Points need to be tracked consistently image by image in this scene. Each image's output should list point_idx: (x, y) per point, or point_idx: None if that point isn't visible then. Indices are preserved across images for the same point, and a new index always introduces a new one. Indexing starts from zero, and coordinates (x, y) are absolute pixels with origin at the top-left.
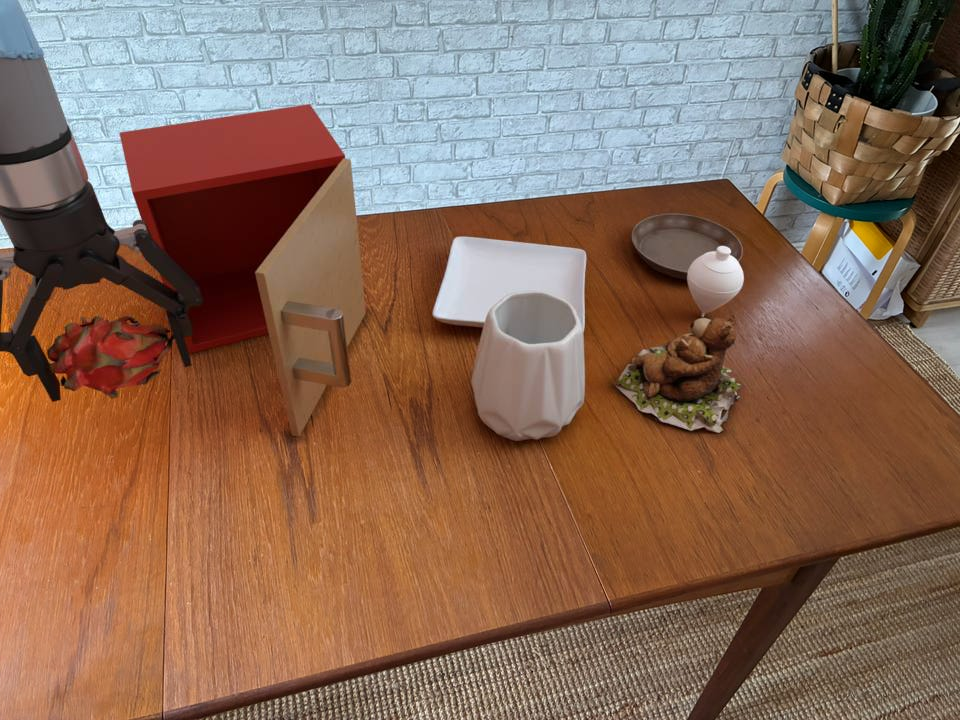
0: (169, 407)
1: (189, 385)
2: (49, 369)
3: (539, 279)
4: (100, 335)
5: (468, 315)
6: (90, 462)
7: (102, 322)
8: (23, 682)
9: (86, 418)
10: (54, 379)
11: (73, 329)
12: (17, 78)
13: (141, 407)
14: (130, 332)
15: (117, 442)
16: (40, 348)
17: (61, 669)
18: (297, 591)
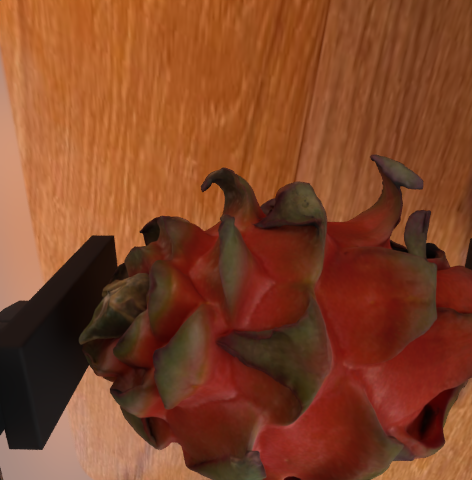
0: (314, 66)
1: (371, 5)
2: (89, 303)
3: None
4: (301, 461)
5: None
6: (155, 161)
7: (322, 387)
8: (91, 458)
9: (146, 26)
10: (103, 287)
11: (193, 393)
12: None
13: (259, 39)
14: (408, 414)
15: (204, 128)
16: (53, 325)
17: (129, 460)
18: (392, 476)
